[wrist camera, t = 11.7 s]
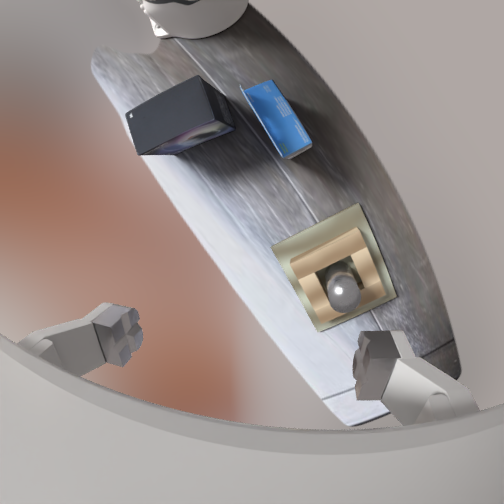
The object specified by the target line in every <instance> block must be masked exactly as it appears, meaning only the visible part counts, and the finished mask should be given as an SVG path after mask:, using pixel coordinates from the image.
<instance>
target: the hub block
mask: <svg viewBox="0 0 504 504" xmlns="http://www.w3.org/2000/svg"><path fill="white" fill-rule="evenodd" d="M271 249H272V251H273V252H274V254H275V256H276V258H277V260H278V261H279V263H280V265H281V267H282V268H283V270H284V272H285V274H286V276H287V277H288V279H289V281H290V283H291V285H292V286H293V288H294V290H295V292H296V294H297V296H298V297H299V299H300V301H301V303H302V305H303V306H304V308H305V310H306V312H307V314H308V316H309V317H310V319H311V321H312V323H313V325H314V327H315V328H316V330H317V332H320V331H323V330H325V329H328V328H330V327H332V326H335V325H337V324H339V323H342V322H344V321H346V320H349V319H351V318H353V317H355V316H358V315H360V314H362V313H364V312H366V311H368V310H371V309H373V308H375V307H377V306H379V305H381V304H383V303H385V302H387V301H389V300H391V299H393V298H395V297H397V296H396V293H395V290H394V287H393V285H392V282H391V279H390V276H389V274H388V271H387V268H386V266H385V263H384V261H383V258H382V255H381V253H380V251H379V248H378V246H377V243H376V241H375V238H374V236H373V234H372V231H371V229H370V227H369V225H368V222H367V220H366V218H365V216H364V213H363V211H362V209H361V207H360V205H359V203H356V204H354V205H352V206H350V207H348V208H346V209H344V210H342V211H340V212H338V213H336V214H334V215H332V216H330V217H328V218H326V219H324V220H322V221H320V222H318V223H316V224H314V225H312V226H311V227H309V228H307V229H305V230H303V231H301V232H299V233H297V234H295V235H293V236H291V237H289V238H287V239H285V240H283V241H281V242H279V243H277V244H275V245H273V246H271ZM337 261H343V262H345V263H347V264H348V265H349V266H350V268H351V270H352V273H353V275H354V278H355V280H356V283H357V285H358V287H359V290H360V293H361V302H360V304H359V305H358V307H357V308H356V309H355V310H353V311H351V312H348V313H339V312H337V311H335V310H334V309H333V308H332V307H331V306H330V303H329V297H328V291H327V285H326V279H325V271H326V268H327V267H328V266H329V265H331V264H333V263H335V262H337Z"/></svg>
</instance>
